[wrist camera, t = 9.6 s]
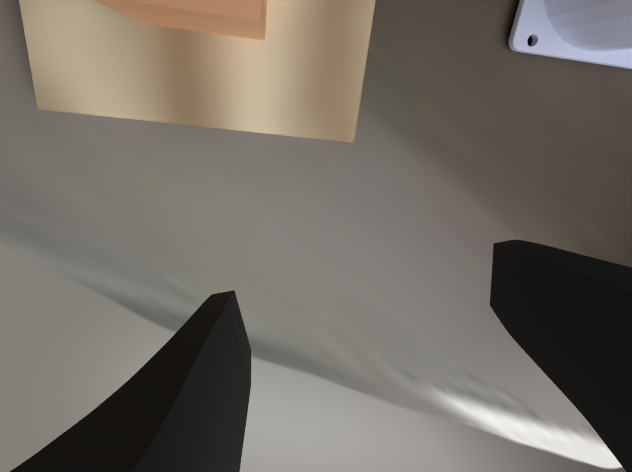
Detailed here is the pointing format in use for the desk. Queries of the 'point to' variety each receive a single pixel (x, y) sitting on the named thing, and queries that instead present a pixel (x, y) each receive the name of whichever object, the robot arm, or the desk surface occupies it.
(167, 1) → the square collar
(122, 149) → the desk surface
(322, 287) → the desk surface
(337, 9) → the post board
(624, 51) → the robot arm
